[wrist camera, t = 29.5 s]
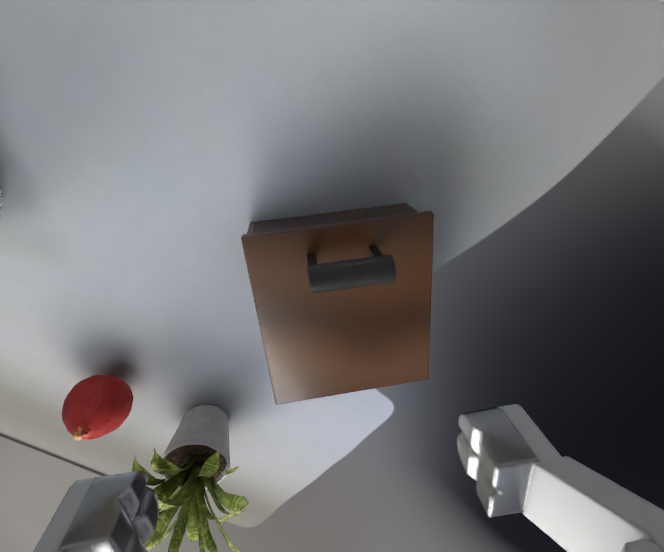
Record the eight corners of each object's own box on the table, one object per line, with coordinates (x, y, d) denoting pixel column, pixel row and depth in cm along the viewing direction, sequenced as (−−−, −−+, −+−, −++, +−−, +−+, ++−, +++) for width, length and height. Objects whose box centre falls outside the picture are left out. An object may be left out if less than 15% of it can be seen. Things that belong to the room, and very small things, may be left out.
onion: (139, 403, 41) (109, 467, 33) (83, 395, 39) (38, 459, 32) (146, 363, 38) (116, 421, 31) (87, 353, 37) (41, 411, 30)
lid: (241, 234, 28) (232, 262, 22) (430, 210, 29) (463, 231, 24) (276, 399, 35) (275, 449, 30) (425, 374, 36) (450, 418, 31)
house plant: (286, 379, 42) (290, 523, 27) (267, 461, 47) (261, 620, 32) (157, 365, 39) (81, 520, 24) (151, 455, 44) (86, 628, 29)
